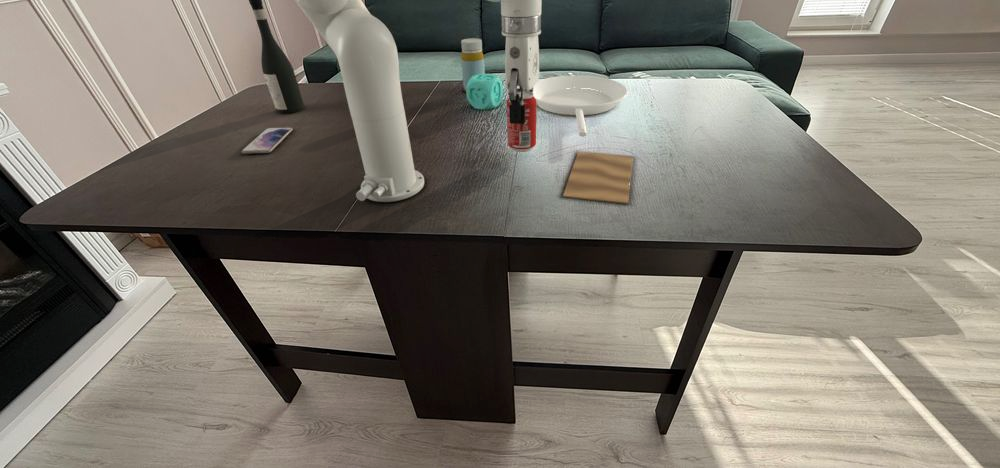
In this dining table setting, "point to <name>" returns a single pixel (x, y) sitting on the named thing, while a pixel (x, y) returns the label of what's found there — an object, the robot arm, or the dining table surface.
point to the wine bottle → (277, 67)
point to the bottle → (471, 59)
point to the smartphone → (267, 140)
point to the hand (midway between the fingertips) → (521, 116)
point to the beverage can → (523, 126)
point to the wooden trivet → (600, 177)
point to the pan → (578, 96)
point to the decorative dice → (484, 91)
